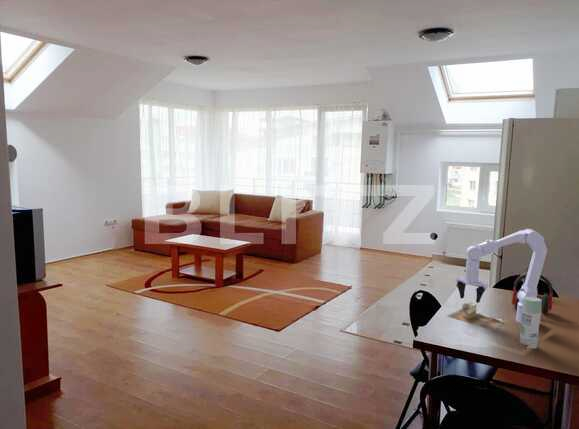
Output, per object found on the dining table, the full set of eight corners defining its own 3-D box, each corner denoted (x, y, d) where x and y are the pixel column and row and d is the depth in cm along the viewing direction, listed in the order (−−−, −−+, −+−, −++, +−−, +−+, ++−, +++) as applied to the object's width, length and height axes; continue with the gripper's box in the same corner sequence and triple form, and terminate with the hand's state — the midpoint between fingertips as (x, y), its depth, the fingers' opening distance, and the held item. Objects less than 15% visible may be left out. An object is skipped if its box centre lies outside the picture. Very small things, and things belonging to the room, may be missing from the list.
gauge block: (477, 315, 213) (478, 303, 212) (468, 319, 207) (469, 307, 206) (468, 313, 216) (469, 301, 215) (459, 317, 210) (460, 304, 209)
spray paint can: (540, 348, 181) (545, 301, 178) (526, 349, 180) (531, 301, 177) (529, 342, 187) (533, 295, 185) (515, 343, 186) (519, 296, 183)
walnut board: (507, 324, 206) (508, 319, 206) (493, 333, 196) (493, 327, 195) (462, 311, 222) (462, 306, 222) (446, 319, 212) (446, 313, 211)
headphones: (511, 311, 225) (514, 272, 222) (511, 305, 234) (514, 268, 231) (551, 317, 217) (555, 277, 214) (550, 311, 226) (554, 272, 223)
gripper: (453, 270, 211) (451, 297, 213) (483, 276, 201) (481, 306, 203) (460, 267, 216) (458, 295, 218) (490, 274, 206) (488, 302, 207)
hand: (469, 300), depth 211 cm, fingers open, 7 cm apart
